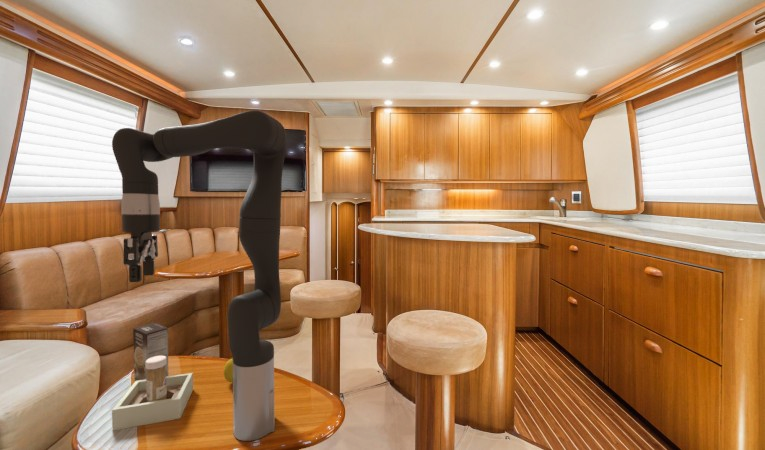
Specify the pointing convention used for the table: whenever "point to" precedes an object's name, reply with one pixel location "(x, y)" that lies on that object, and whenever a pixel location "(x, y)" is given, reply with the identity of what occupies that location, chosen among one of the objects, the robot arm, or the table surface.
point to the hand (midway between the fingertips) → (142, 278)
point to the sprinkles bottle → (156, 378)
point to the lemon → (229, 370)
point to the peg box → (152, 403)
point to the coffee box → (149, 346)
